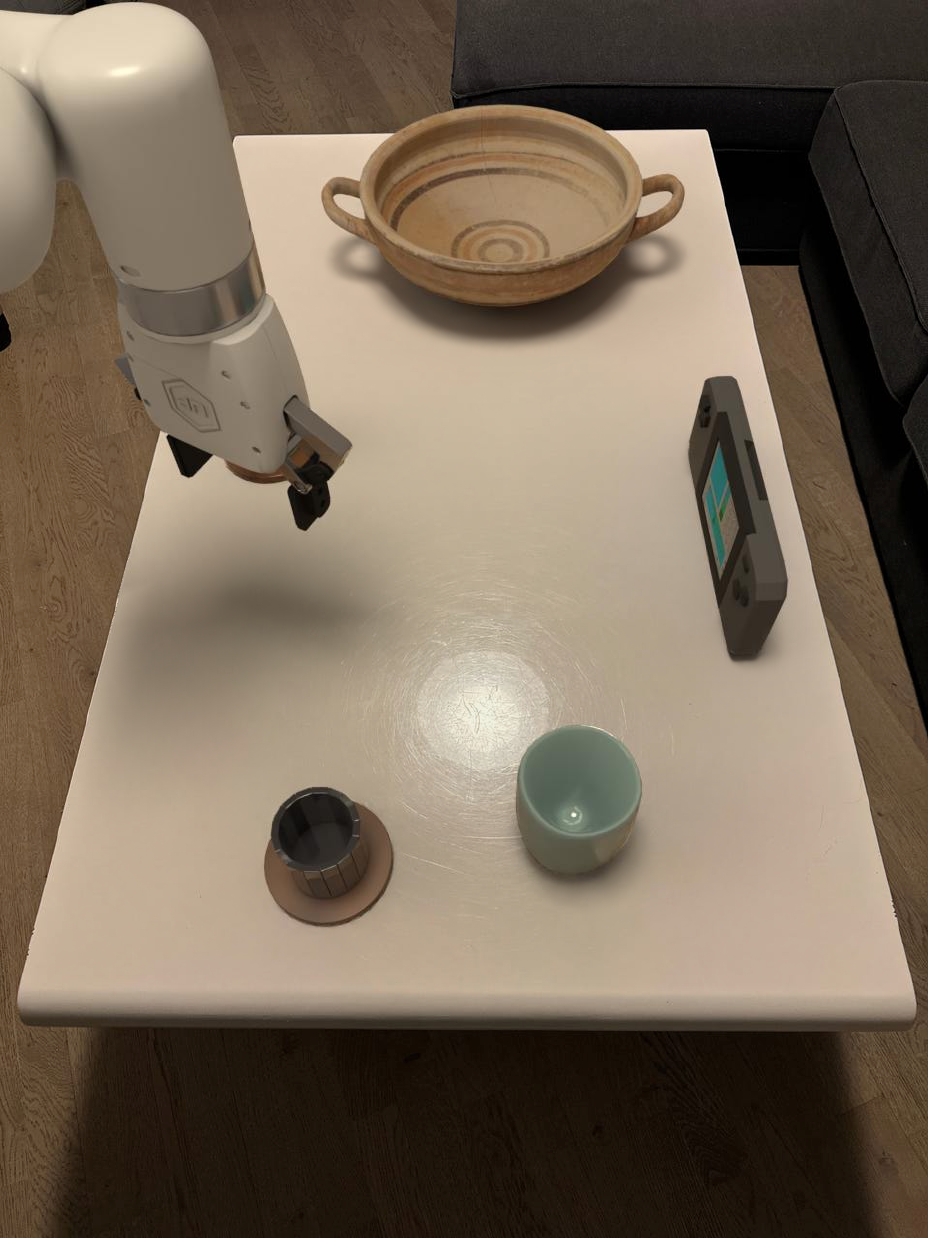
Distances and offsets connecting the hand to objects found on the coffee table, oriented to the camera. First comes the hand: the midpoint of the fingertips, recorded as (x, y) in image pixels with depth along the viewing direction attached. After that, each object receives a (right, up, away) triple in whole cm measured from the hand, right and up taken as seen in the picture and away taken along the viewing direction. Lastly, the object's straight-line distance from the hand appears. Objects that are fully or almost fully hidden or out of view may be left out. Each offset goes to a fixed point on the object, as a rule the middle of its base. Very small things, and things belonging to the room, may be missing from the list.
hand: (255, 489), depth 64 cm
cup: (+22, -24, +3) cm, 33 cm away
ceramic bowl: (+18, +30, +39) cm, 52 cm away
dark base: (+5, -26, +2) cm, 27 cm away
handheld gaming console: (+36, -3, +17) cm, 40 cm away
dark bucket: (+5, -26, +2) cm, 27 cm away
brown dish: (-4, +7, +24) cm, 26 cm away
